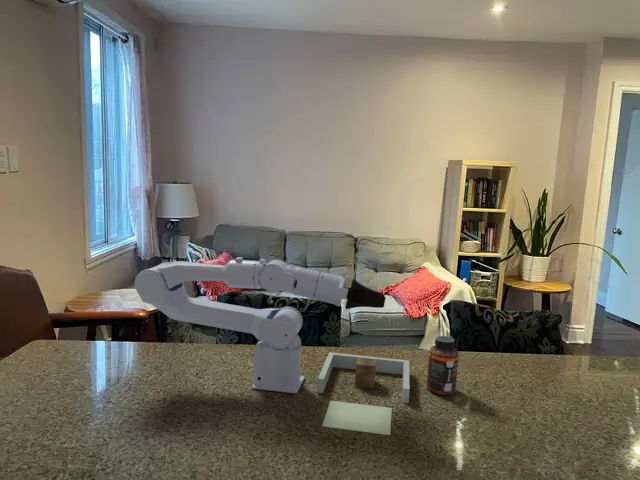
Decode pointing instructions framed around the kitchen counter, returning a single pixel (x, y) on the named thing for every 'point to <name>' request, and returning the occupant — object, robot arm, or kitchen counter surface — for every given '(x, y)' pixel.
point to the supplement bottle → (442, 366)
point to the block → (365, 372)
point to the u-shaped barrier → (350, 363)
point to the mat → (358, 417)
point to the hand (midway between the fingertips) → (383, 301)
